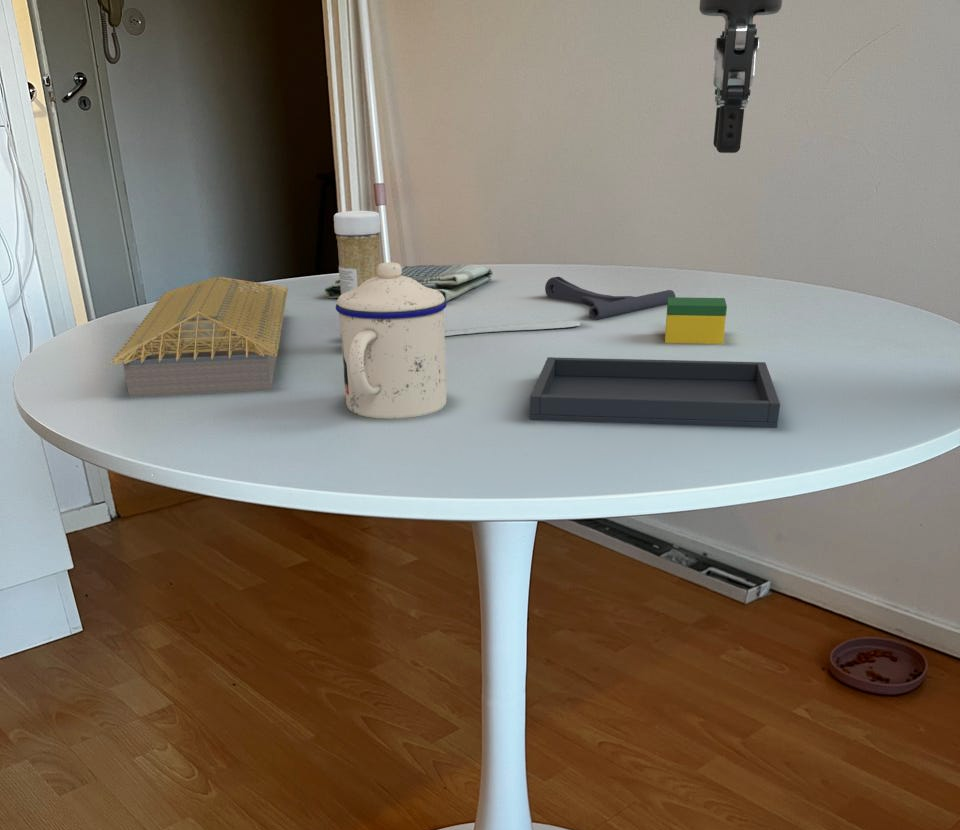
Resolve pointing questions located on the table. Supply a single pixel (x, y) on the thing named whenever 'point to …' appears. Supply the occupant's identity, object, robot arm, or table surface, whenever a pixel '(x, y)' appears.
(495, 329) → the butter knife
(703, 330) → the sponge
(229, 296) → the rafter model
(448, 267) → the dish towel
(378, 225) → the sprinkles bottle
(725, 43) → the robot arm
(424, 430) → the table surface
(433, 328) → the teacup with lid
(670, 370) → the tray
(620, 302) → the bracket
